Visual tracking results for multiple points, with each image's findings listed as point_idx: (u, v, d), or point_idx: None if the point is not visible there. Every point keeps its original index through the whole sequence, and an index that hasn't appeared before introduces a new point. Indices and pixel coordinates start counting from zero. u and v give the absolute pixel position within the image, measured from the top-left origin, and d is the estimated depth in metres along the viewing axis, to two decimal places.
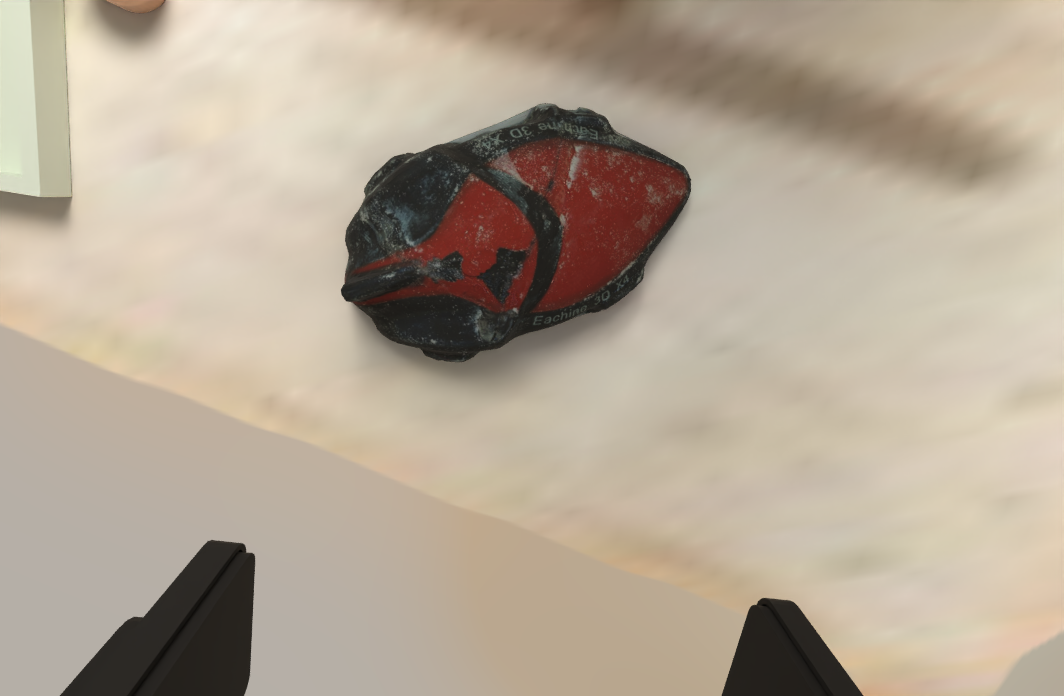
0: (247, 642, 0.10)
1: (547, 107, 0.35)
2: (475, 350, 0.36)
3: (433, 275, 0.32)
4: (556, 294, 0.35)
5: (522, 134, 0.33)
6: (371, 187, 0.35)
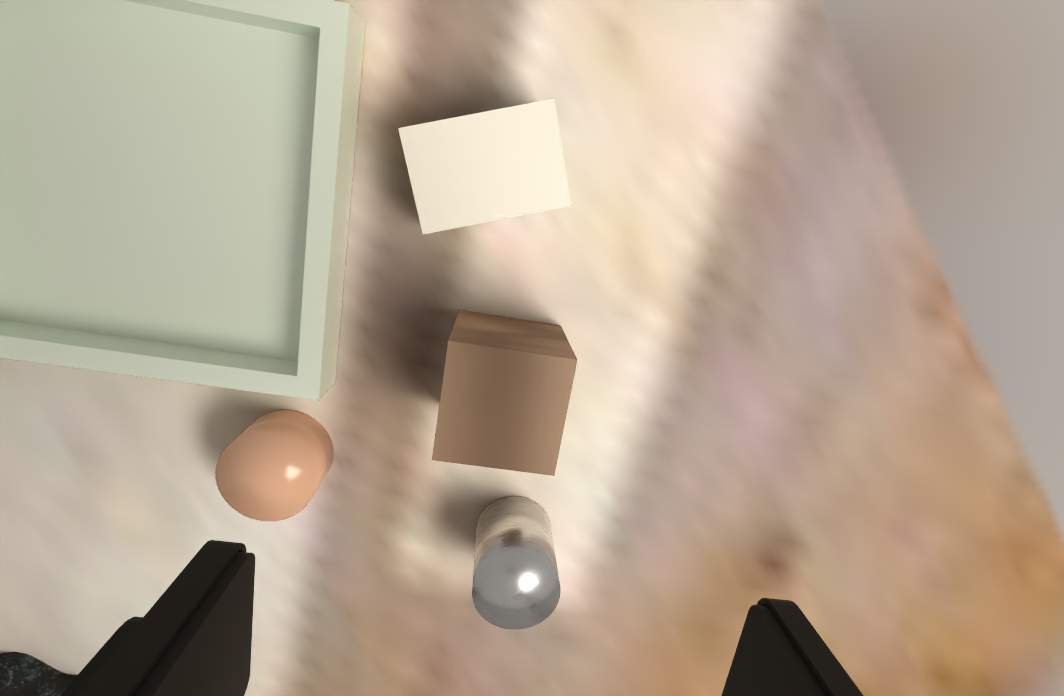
0: (247, 642, 0.10)
1: None
2: None
3: None
4: None
5: None
6: None
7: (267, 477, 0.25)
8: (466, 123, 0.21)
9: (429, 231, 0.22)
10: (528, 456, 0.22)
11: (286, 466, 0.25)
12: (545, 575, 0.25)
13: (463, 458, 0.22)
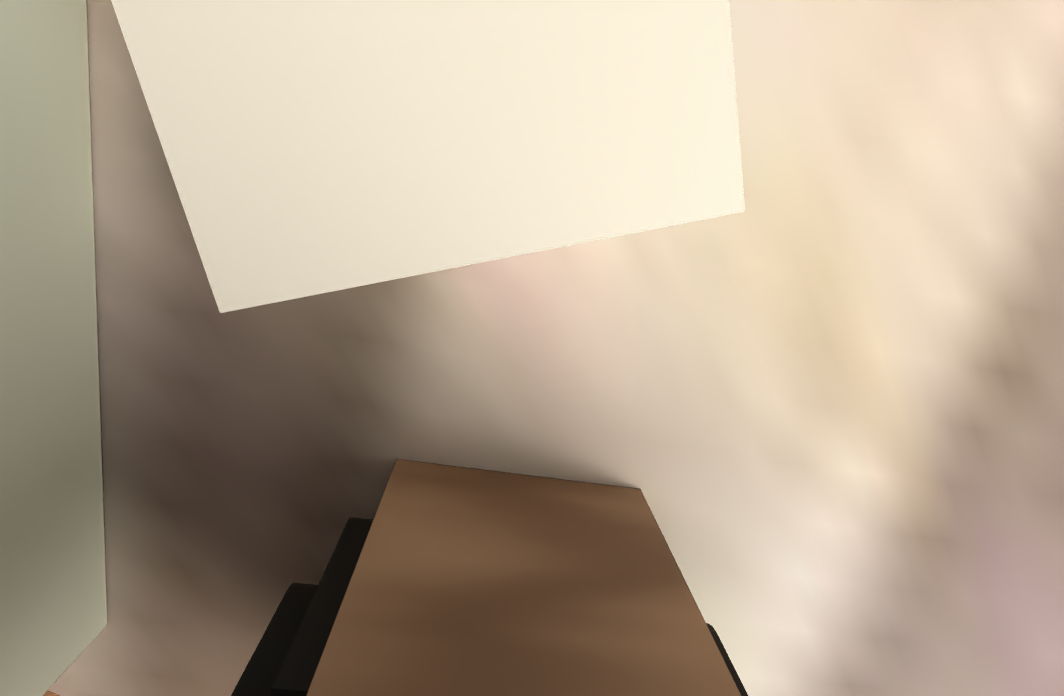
0: None
1: None
2: None
3: None
4: None
5: None
6: None
7: None
8: None
9: (243, 302, 0.06)
10: None
11: None
12: None
13: None
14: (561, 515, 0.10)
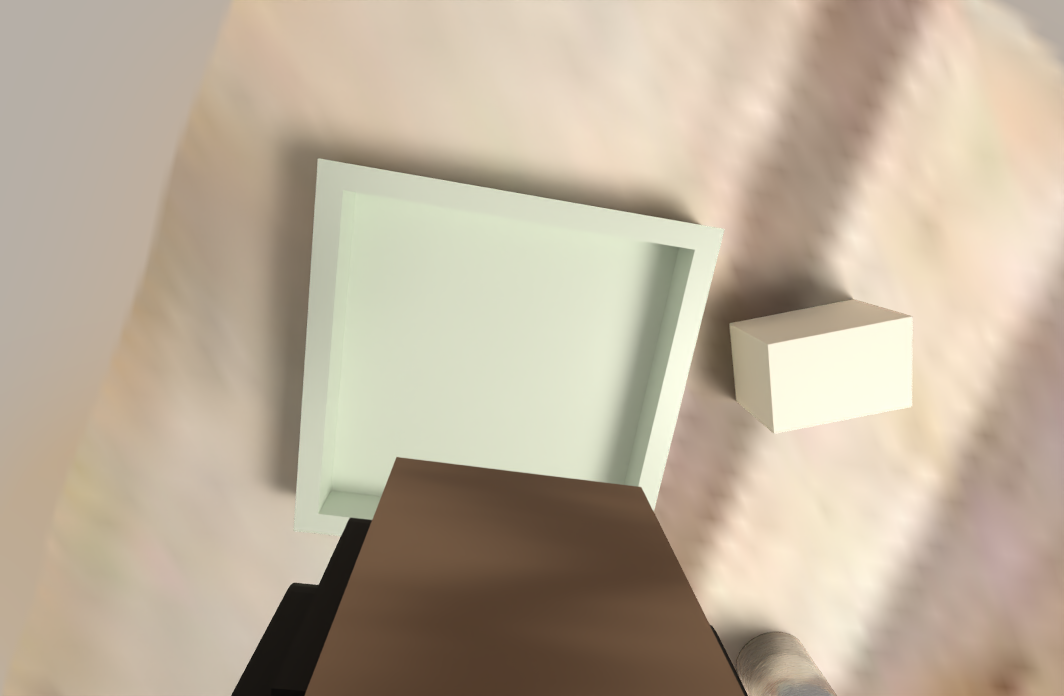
0: None
1: None
2: None
3: None
4: None
5: None
6: None
7: None
8: (829, 339, 0.22)
9: (780, 431, 0.23)
10: None
11: None
12: None
13: None
14: (562, 513, 0.10)
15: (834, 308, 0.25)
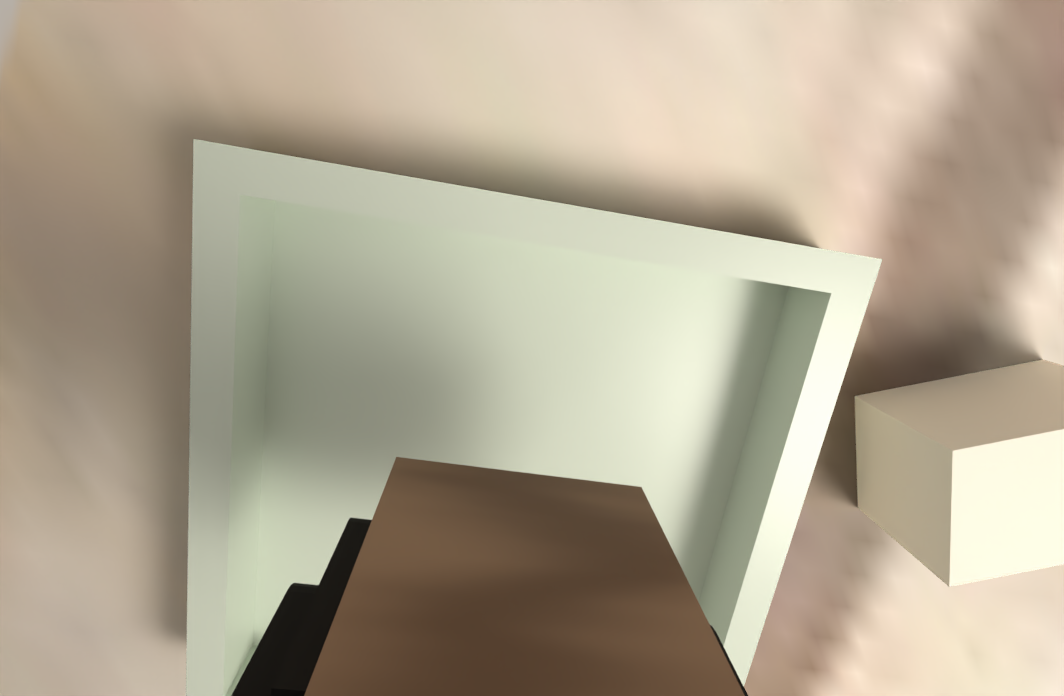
0: None
1: None
2: None
3: None
4: None
5: None
6: None
7: None
8: (1053, 441, 0.14)
9: (959, 582, 0.15)
10: None
11: None
12: None
13: None
14: (562, 513, 0.10)
15: (1023, 376, 0.16)
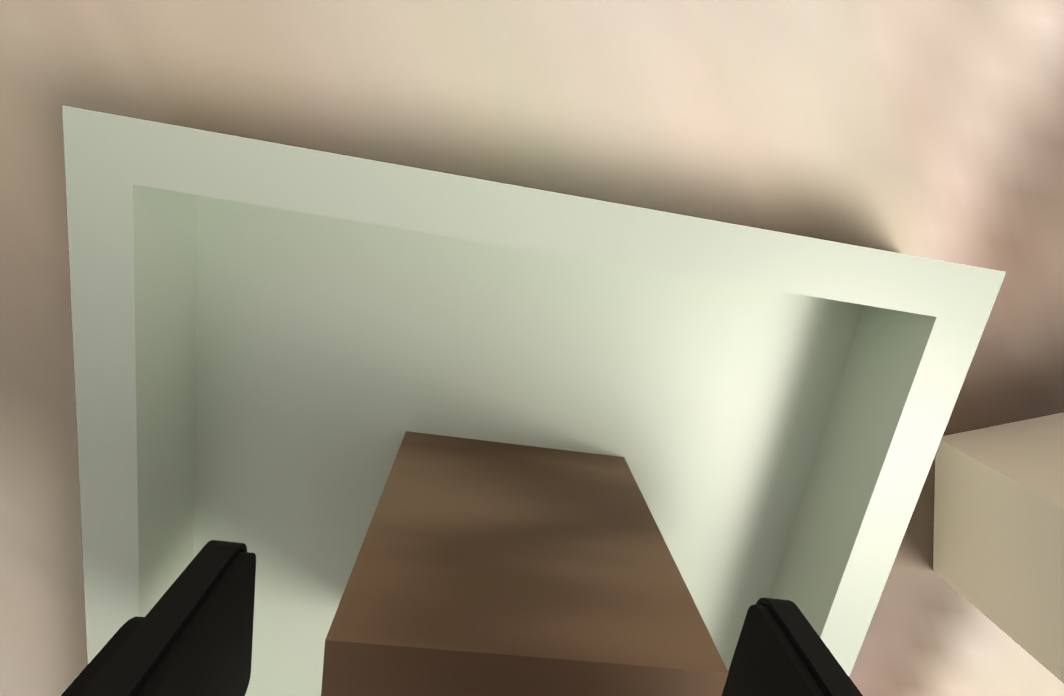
0: (248, 642, 0.10)
1: None
2: None
3: None
4: None
5: None
6: None
7: None
8: None
9: None
10: None
11: None
12: None
13: None
14: (552, 477, 0.11)
15: None
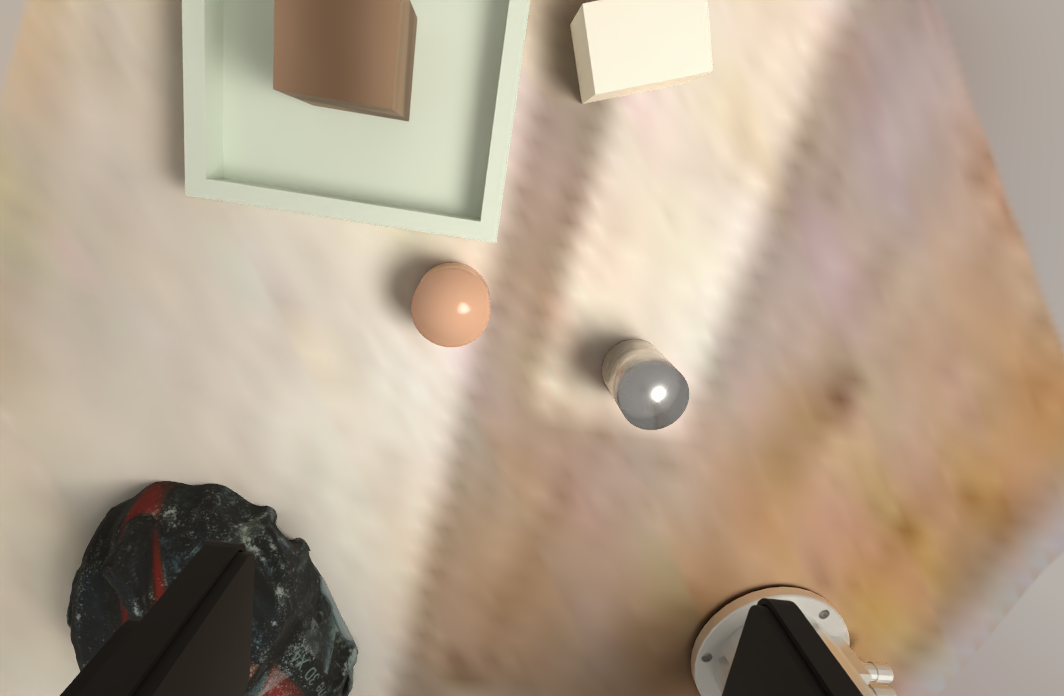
0: (247, 643, 0.10)
1: (345, 673, 0.39)
2: (75, 651, 0.33)
3: None
4: None
5: (308, 679, 0.36)
6: (259, 537, 0.35)
7: (452, 308, 0.31)
8: (636, 0, 0.26)
9: (600, 92, 0.27)
10: (365, 87, 0.24)
11: (468, 298, 0.31)
12: (678, 383, 0.31)
13: (303, 88, 0.24)
14: None
15: None
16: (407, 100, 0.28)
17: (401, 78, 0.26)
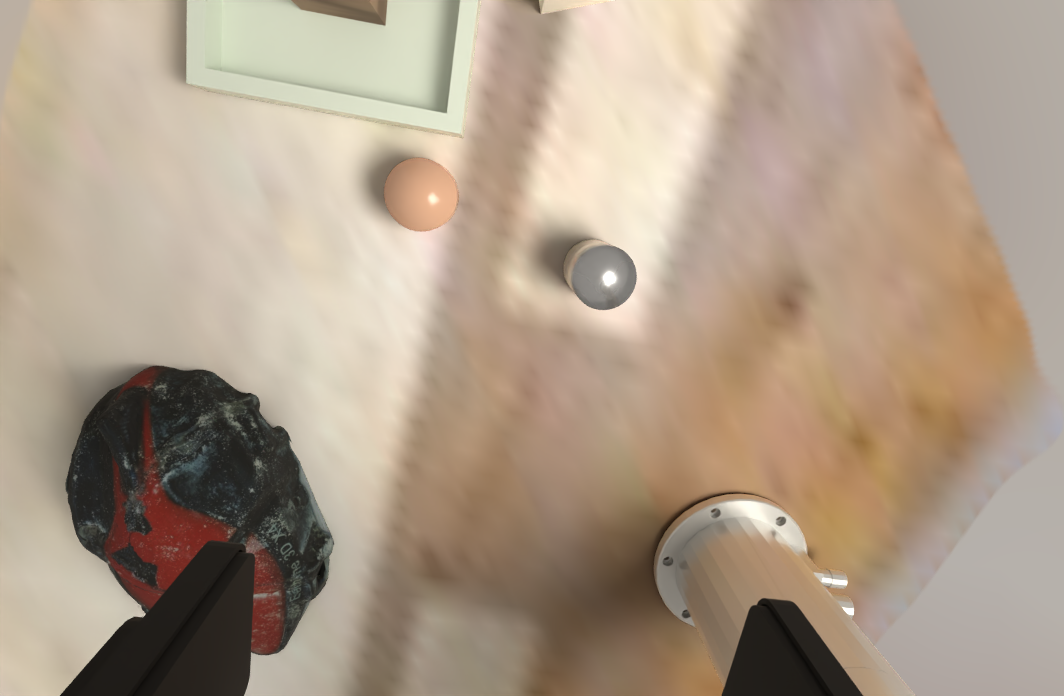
0: (248, 643, 0.10)
1: (320, 557, 0.41)
2: (72, 512, 0.37)
3: (128, 504, 0.34)
4: (135, 586, 0.38)
5: (284, 554, 0.39)
6: (241, 415, 0.38)
7: (421, 194, 0.34)
8: None
9: None
10: None
11: (436, 185, 0.34)
12: (626, 264, 0.34)
13: None
14: None
15: None
16: (382, 1, 0.32)
17: None
